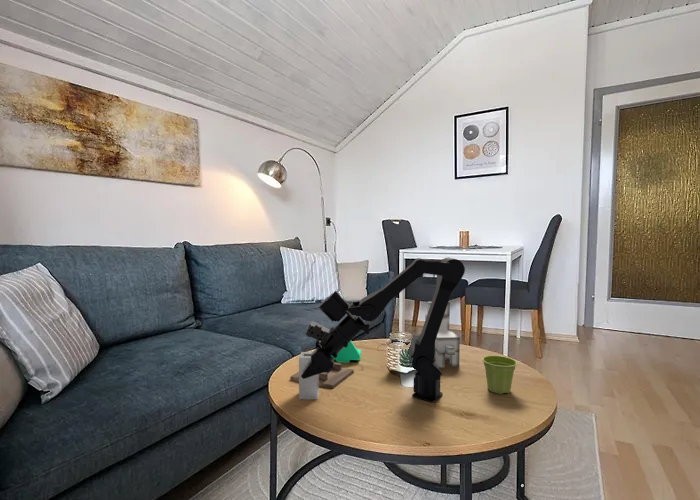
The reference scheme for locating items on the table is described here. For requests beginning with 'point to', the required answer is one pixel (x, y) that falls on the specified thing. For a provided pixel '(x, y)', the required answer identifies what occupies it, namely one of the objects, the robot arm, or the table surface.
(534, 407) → the table surface
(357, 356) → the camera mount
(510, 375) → the plant pot
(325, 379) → the cradle
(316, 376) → the block
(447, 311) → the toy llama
